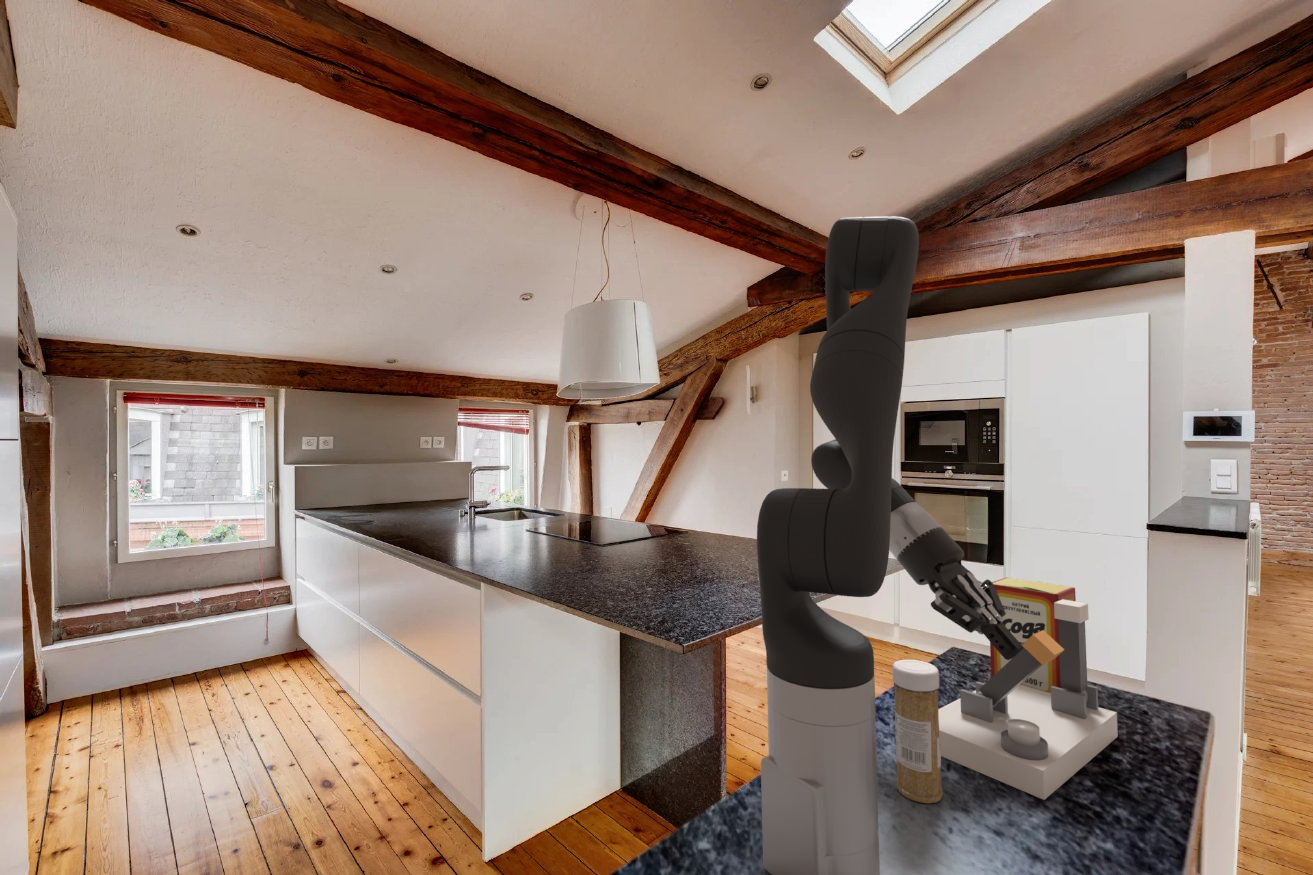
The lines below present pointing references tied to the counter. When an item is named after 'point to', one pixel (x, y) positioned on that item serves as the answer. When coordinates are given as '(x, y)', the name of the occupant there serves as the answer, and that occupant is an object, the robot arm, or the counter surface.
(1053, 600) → the baking soda box
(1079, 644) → the lever white
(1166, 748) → the counter surface
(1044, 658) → the lever orange
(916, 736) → the sprinkles bottle
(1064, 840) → the counter surface
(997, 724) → the switch panel
